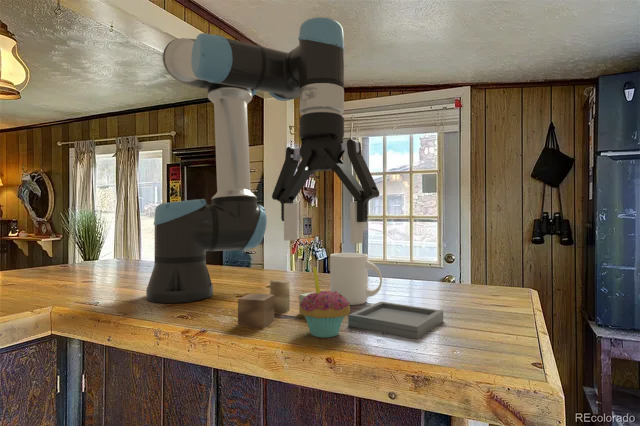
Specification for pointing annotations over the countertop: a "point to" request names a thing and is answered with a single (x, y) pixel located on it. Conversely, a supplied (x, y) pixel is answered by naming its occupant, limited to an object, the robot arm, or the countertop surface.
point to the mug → (352, 276)
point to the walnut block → (255, 310)
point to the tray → (396, 319)
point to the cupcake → (324, 310)
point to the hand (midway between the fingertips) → (321, 241)
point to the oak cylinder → (280, 295)
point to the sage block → (301, 297)
